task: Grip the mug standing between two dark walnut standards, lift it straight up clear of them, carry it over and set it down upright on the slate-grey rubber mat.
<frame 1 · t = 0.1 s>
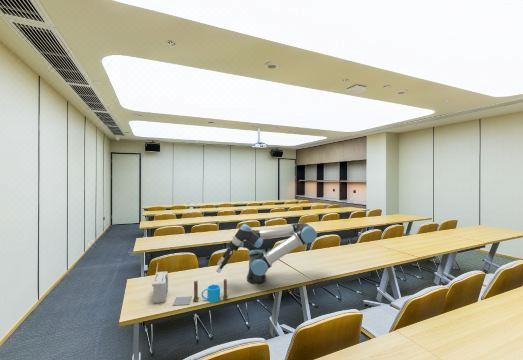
hand: (218, 268, 177), 15 cm above the table, tool tilted 35°, fingers open, 13 cm apart
stereo radio cassette player: (160, 296, 168), on the table
walnut standards: (210, 299, 163), on the table
grey mat: (182, 301, 161), on the table
mug: (210, 300, 163), on the table
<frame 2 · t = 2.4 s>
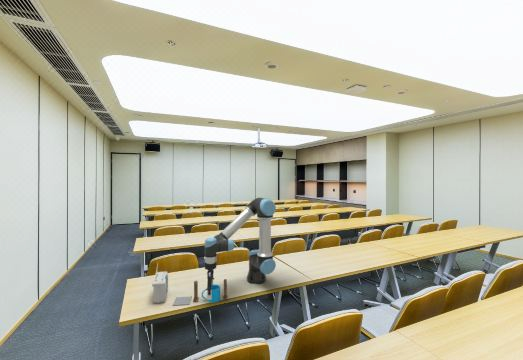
hand: (210, 294, 163), 3 cm above the table, tool pointing down, fingers open, 13 cm apart
nothing on the table moved.
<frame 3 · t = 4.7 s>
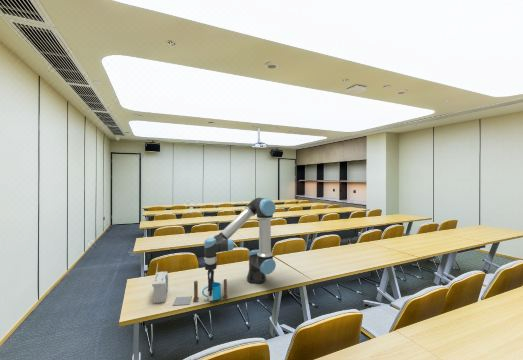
hand: (211, 296, 163), 2 cm above the table, tool pointing down, fingers closed on mug, 8 cm apart
mug: (211, 297, 163), point 1 cm above the table, touching gripper
everything else where it was.
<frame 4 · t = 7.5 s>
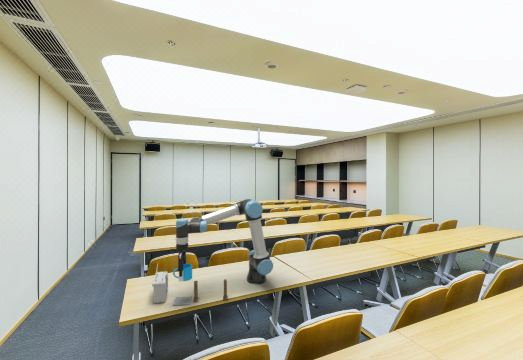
hand: (182, 278, 160), 15 cm above the table, tool pointing down, fingers closed on mug, 8 cm apart
mug: (182, 279, 160), point 15 cm above the table, touching gripper
everything else where it was.
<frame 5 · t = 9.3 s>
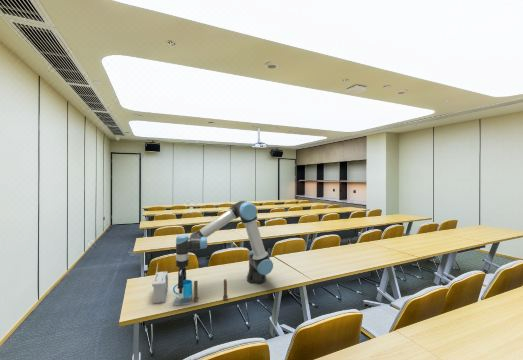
hand: (182, 294, 161), 4 cm above the table, tool pointing down, fingers closed on mug, 8 cm apart
mug: (182, 295, 161), point 4 cm above the table, touching gripper
everything else where it was.
when the fingers open (2 cm above the table, at t = 10.7 s): mug drops 1 cm, resting on grey mat.
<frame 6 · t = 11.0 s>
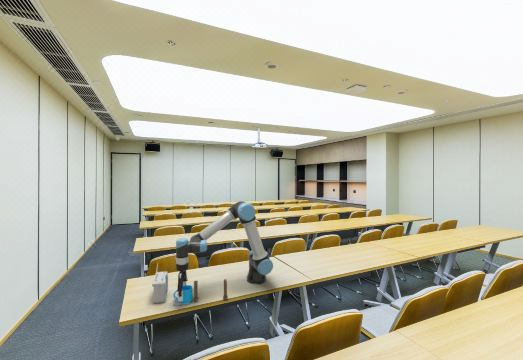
hand: (182, 296, 161), 3 cm above the table, tool pointing down, fingers open, 12 cm apart
mug: (183, 300, 161), resting on grey mat
everything else where it was.
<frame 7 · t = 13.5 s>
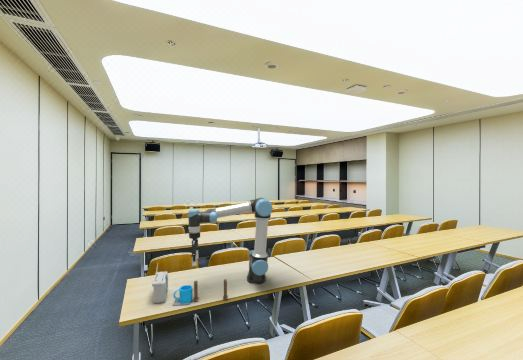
hand: (195, 262, 173), 21 cm above the table, tool pointing down, fingers open, 13 cm apart
nothing on the table moved.
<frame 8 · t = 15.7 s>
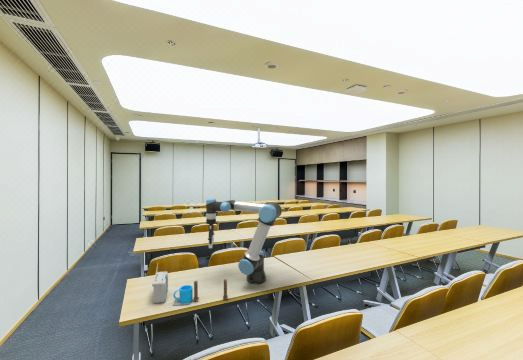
hand: (211, 245, 194), 27 cm above the table, tool pointing down, fingers open, 13 cm apart
nothing on the table moved.
at the end: mug inside the target area on the grey mat (0.3 cm from its centre), point 0.3 cm above the grey mat's base; mug tilted 0°; the gripper is holding nothing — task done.
